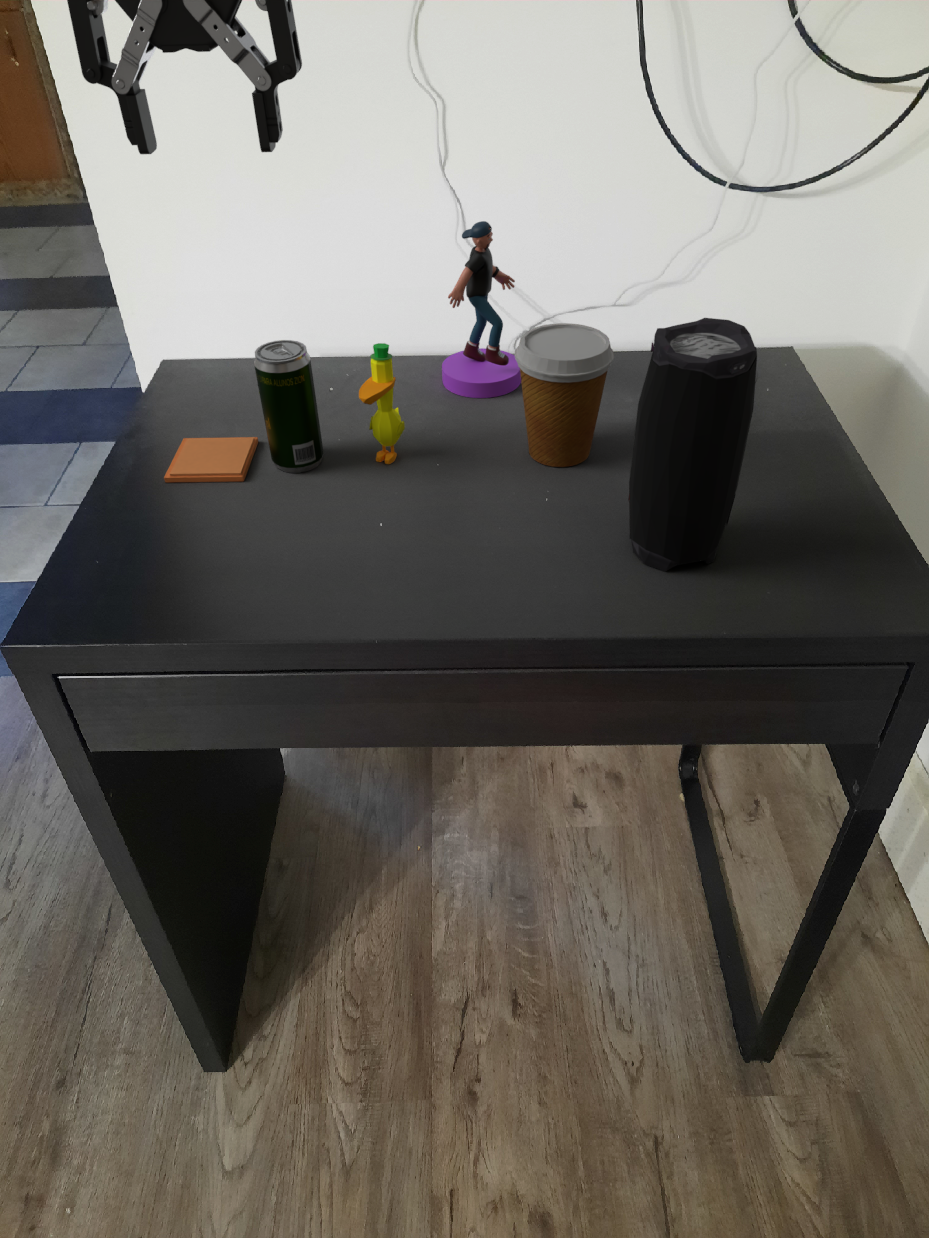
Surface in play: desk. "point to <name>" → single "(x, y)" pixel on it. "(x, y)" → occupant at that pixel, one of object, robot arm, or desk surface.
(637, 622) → the desk surface
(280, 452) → the beer can
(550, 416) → the disposable coffee cup
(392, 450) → the toy figure
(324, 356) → the desk surface
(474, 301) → the figurine
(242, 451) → the orange square panel
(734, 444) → the portable speaker
